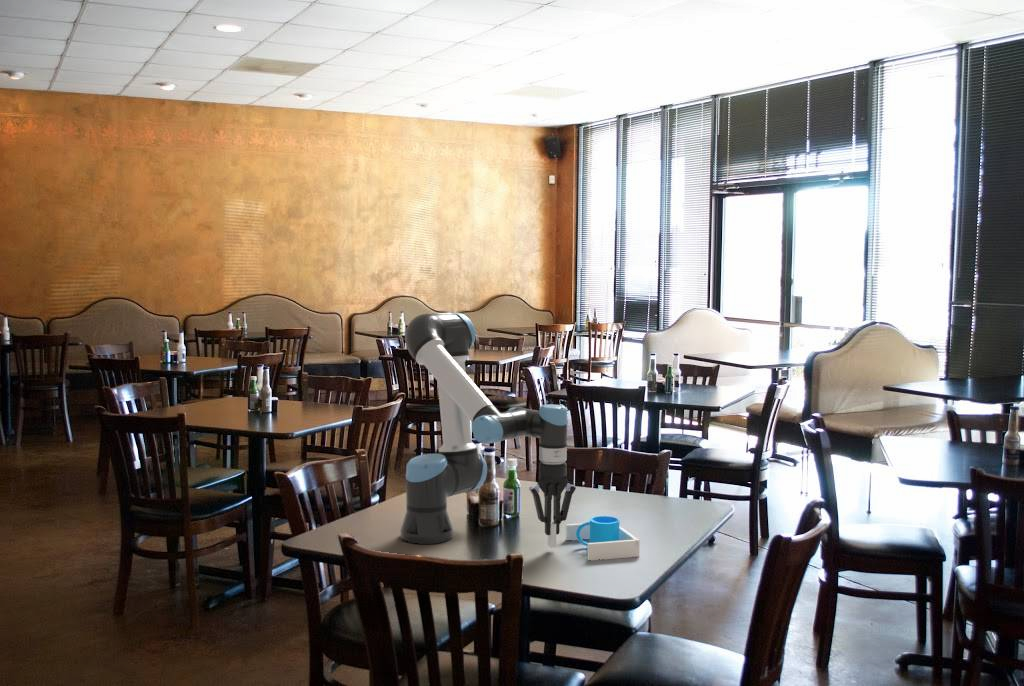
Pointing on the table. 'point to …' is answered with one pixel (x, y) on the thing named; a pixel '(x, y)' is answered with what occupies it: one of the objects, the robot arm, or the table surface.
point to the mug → (601, 529)
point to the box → (606, 544)
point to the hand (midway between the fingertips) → (551, 545)
